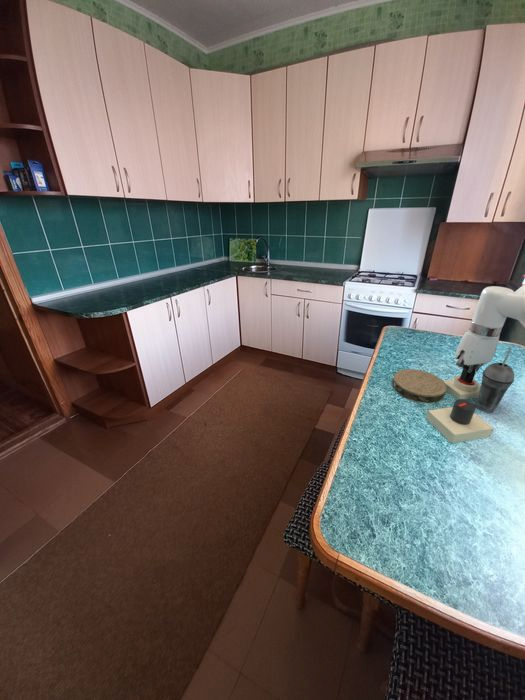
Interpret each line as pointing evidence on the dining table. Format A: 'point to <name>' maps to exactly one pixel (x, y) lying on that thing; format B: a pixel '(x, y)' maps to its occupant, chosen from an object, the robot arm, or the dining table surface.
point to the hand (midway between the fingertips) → (465, 380)
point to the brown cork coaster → (419, 385)
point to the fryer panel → (458, 426)
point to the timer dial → (462, 411)
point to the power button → (465, 382)
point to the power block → (462, 388)
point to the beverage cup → (494, 385)
